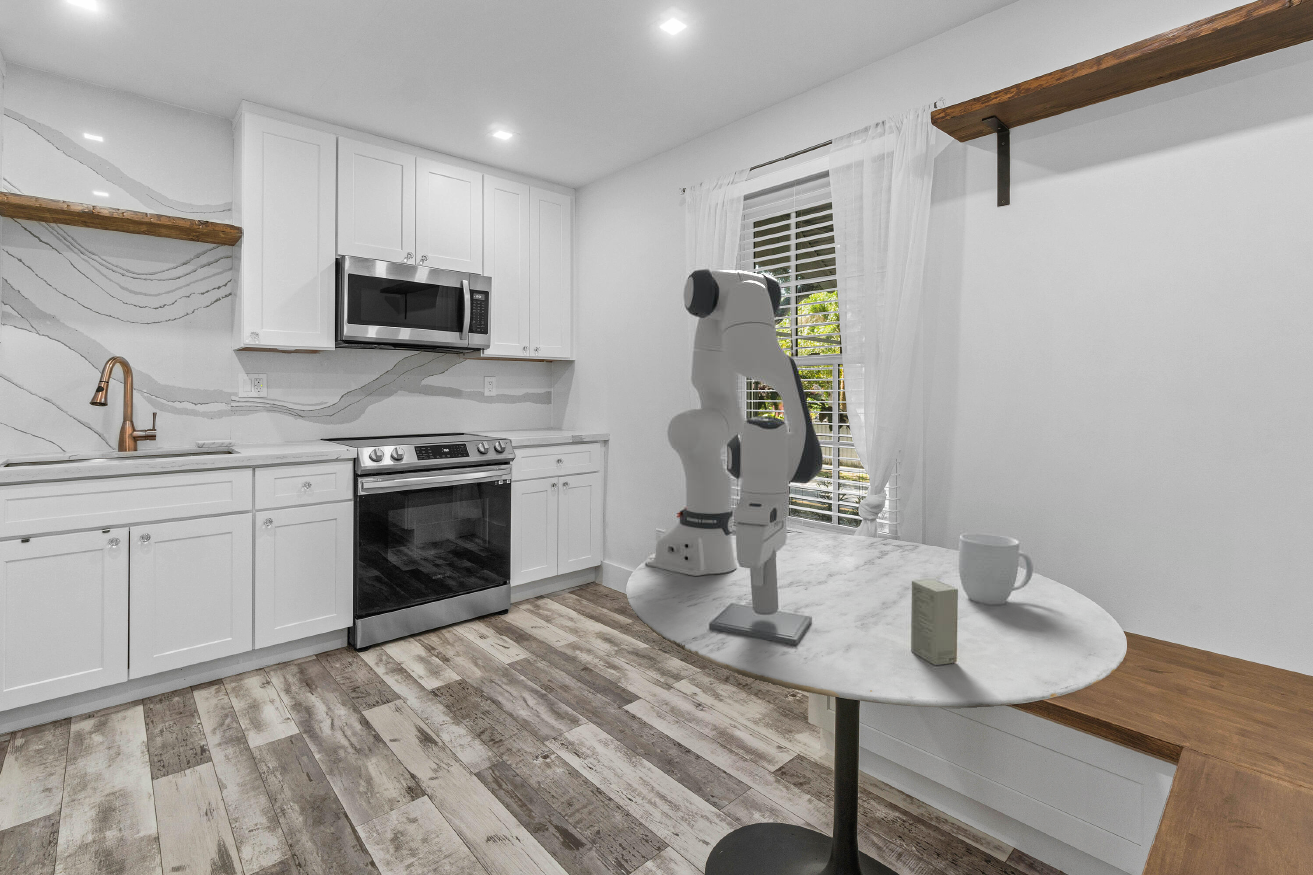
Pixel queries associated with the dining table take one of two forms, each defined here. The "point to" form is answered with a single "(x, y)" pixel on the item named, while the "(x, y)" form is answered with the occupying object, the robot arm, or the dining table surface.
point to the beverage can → (766, 589)
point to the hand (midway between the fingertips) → (763, 579)
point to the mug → (990, 567)
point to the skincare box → (934, 621)
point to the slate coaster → (761, 624)
